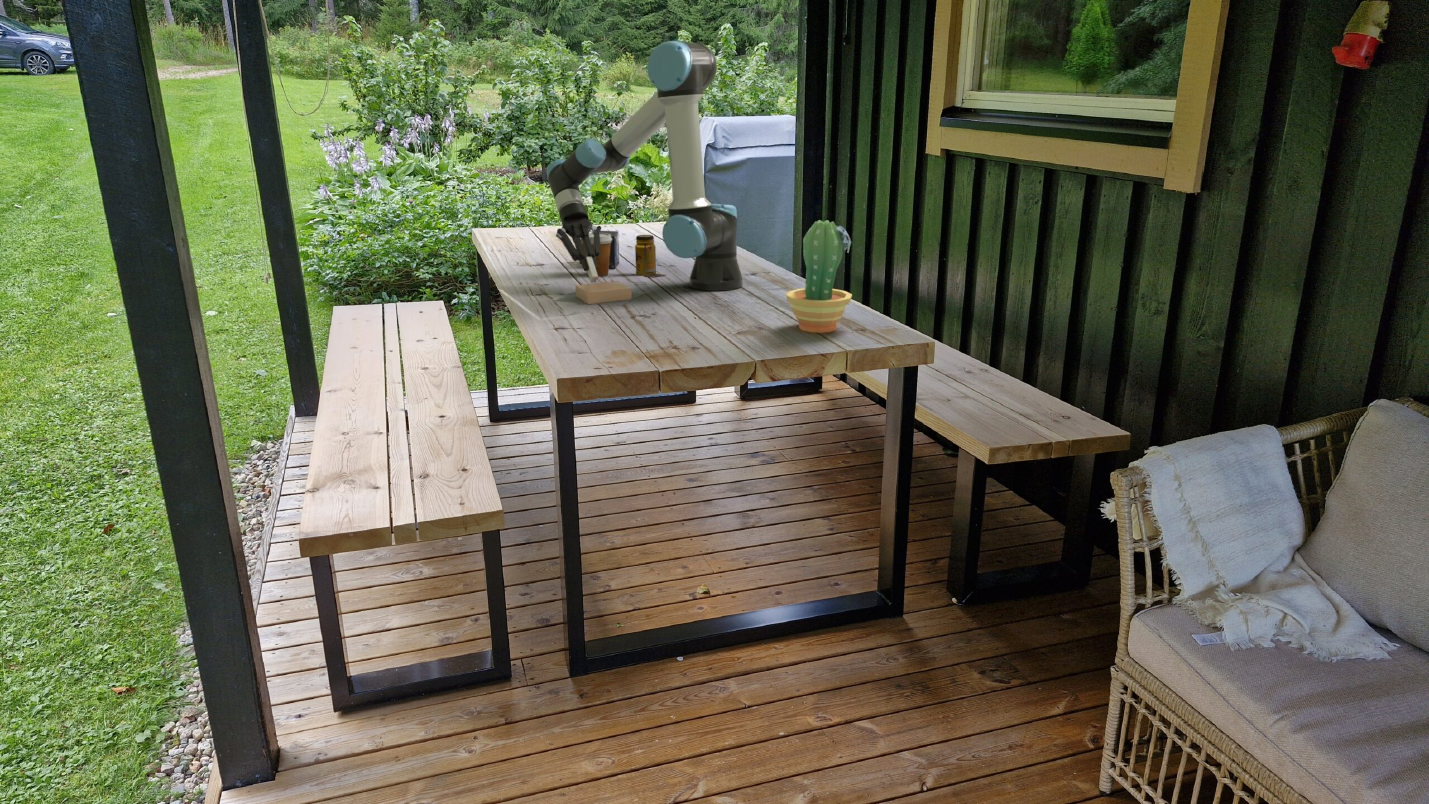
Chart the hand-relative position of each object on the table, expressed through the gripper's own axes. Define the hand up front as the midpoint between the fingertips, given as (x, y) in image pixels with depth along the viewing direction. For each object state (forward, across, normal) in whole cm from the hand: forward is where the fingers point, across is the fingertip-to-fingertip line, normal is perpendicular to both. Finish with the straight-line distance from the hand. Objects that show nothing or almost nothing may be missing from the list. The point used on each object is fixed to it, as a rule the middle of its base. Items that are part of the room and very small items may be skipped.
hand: (594, 279), depth 249 cm
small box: (-25, -18, -31) cm, 44 cm away
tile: (+3, 0, 0) cm, 3 cm away
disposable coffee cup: (-16, -11, -23) cm, 30 cm away
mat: (+6, 0, 0) cm, 6 cm away
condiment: (-11, -24, -17) cm, 31 cm away
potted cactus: (+43, -35, +37) cm, 67 cm away
